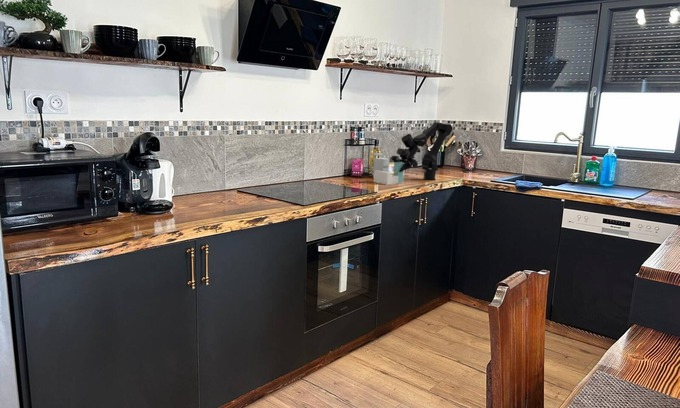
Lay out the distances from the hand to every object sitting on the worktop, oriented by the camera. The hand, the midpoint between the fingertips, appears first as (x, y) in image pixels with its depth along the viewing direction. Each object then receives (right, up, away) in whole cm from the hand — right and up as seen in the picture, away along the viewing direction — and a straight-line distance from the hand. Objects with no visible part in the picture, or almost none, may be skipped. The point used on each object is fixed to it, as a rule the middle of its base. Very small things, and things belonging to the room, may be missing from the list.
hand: (396, 171), depth 309 cm
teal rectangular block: (+1, -6, +2) cm, 7 cm away
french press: (-10, 0, +33) cm, 35 cm away
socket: (-7, -7, -4) cm, 10 cm away
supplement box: (-8, -3, +20) cm, 21 cm away
